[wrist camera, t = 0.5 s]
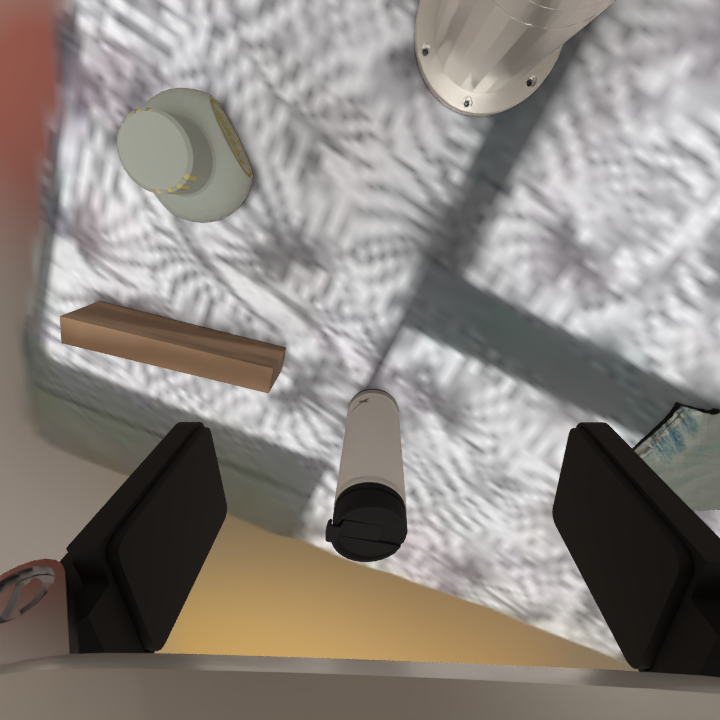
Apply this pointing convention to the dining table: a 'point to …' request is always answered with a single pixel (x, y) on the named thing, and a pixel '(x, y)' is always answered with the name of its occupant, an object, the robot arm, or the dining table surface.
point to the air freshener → (186, 155)
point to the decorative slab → (687, 455)
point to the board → (173, 345)
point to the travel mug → (370, 482)
